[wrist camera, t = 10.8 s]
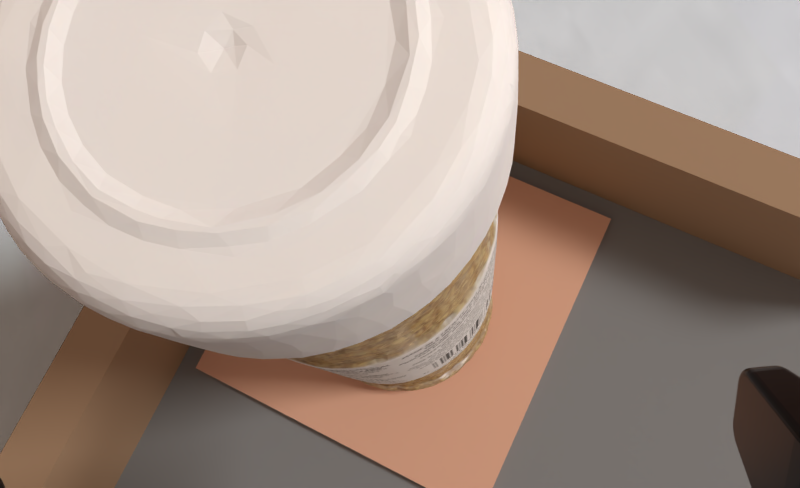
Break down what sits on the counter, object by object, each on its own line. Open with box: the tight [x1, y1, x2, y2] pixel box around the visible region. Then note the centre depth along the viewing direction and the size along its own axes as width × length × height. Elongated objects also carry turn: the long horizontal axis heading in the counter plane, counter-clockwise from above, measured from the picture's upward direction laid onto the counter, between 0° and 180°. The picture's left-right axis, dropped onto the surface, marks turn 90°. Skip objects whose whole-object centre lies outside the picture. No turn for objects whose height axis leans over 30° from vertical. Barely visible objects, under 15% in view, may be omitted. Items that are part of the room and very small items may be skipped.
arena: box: [0, 51, 800, 488], centre depth 16 cm, size 18×16×4 cm
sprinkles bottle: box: [0, 0, 518, 391], centre depth 12 cm, size 5×5×14 cm
